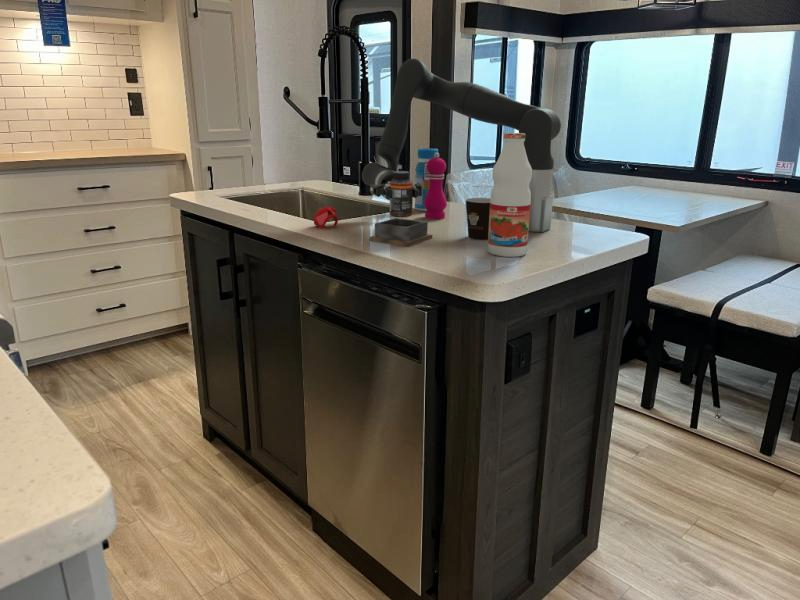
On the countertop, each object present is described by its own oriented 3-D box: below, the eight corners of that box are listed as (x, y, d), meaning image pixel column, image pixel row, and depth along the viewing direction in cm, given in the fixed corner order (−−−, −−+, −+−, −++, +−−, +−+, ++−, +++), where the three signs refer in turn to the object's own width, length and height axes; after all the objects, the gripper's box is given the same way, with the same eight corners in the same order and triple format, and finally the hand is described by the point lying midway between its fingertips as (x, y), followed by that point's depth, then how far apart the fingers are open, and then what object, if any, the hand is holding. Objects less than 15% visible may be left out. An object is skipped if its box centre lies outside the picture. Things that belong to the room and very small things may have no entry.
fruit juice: (526, 249, 152) (535, 132, 144) (527, 258, 144) (536, 134, 135) (488, 247, 154) (494, 132, 145) (486, 256, 145) (493, 133, 136)
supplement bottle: (401, 212, 164) (401, 169, 161) (417, 216, 160) (418, 172, 157) (384, 215, 160) (385, 171, 157) (400, 218, 156) (401, 173, 153)
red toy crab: (345, 216, 176) (334, 203, 179) (333, 211, 171) (321, 198, 174) (329, 237, 179) (318, 224, 182) (316, 233, 174) (305, 220, 177)
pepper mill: (446, 219, 190) (449, 153, 184) (423, 219, 190) (425, 153, 184) (445, 215, 197) (447, 151, 191) (423, 215, 197) (424, 151, 191)
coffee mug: (458, 235, 168) (459, 198, 165) (485, 233, 171) (487, 197, 168) (480, 244, 158) (482, 205, 155) (508, 241, 161) (511, 203, 158)
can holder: (432, 238, 164) (432, 221, 162) (408, 246, 154) (409, 229, 153) (394, 233, 170) (394, 217, 168) (369, 240, 160) (369, 223, 159)
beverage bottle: (409, 209, 208) (410, 148, 201) (422, 206, 214) (424, 147, 208) (430, 212, 203) (432, 150, 197) (443, 209, 210) (445, 148, 203)
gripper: (364, 171, 169) (375, 179, 153) (415, 170, 172) (431, 178, 156) (364, 198, 171) (375, 209, 156) (414, 197, 174) (430, 208, 159)
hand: (403, 194), depth 156 cm, fingers closed on supplement bottle, 6 cm apart
